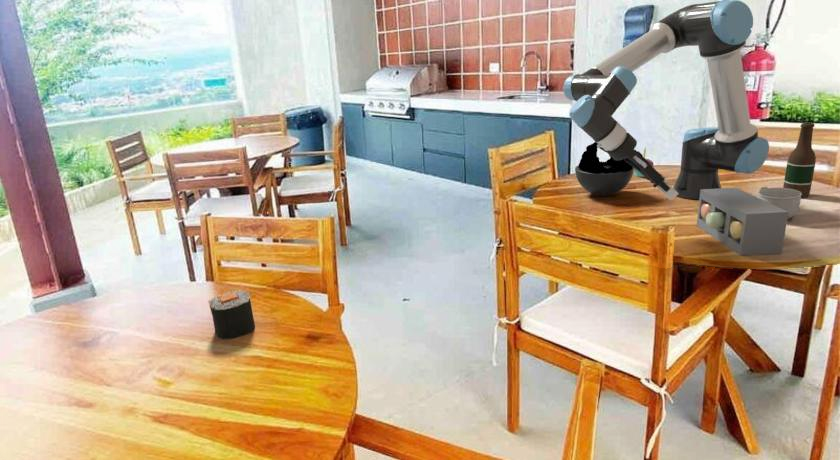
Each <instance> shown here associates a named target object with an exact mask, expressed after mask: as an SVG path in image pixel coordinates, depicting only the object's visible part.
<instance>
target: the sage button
mask: <svg viewBox="0 0 840 460" xmlns="http://www.w3.org/2000/svg"><path fill="white" fill-rule="evenodd" d="M725 220H726V214H725V213H724V212H714V213H708V214H707V216H706V225H707V227H708V228H709V229H718V228H725Z"/></svg>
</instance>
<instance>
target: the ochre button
mask: <svg viewBox="0 0 840 460" xmlns="http://www.w3.org/2000/svg"><path fill="white" fill-rule="evenodd" d="M742 226H743V222H741V221H733V222H732V223H731V225H730V233H731V236H732V237H733V238H741V234H742Z"/></svg>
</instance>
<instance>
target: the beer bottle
mask: <svg viewBox="0 0 840 460" xmlns="http://www.w3.org/2000/svg"><path fill="white" fill-rule="evenodd" d="M814 128H815V123H813V122H803V123H801V124H800V131H799V136H798V140H797V144H796V146H795V148H794V149H793V150H792V151H791V152H790V154H789V156H788V158H787V162H786V168H785V174H784V180H783V185H782V186H783V187H782V188H789V189H794V190H797V191H800V192H801V193H802V195H801V199H802V198H805V199H806V198H807V197H809V195H811V194H810V192H811V190H812V184H813V178H814V175H815V174H814V173H815V169H816V168H815V167H816V161H817V160H816V158H817V156H816V153H815V151H814V149H813V148H812V145H813V144H812V142H813V131H814Z"/></svg>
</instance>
